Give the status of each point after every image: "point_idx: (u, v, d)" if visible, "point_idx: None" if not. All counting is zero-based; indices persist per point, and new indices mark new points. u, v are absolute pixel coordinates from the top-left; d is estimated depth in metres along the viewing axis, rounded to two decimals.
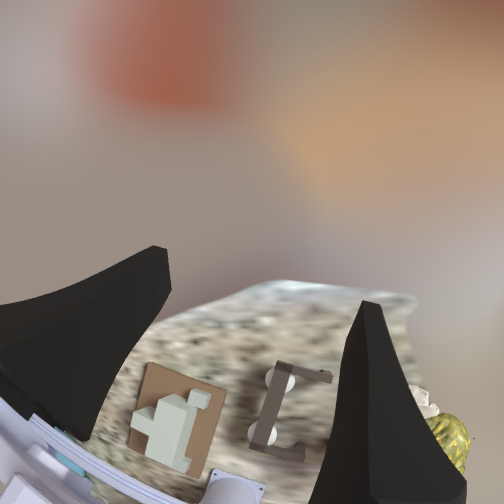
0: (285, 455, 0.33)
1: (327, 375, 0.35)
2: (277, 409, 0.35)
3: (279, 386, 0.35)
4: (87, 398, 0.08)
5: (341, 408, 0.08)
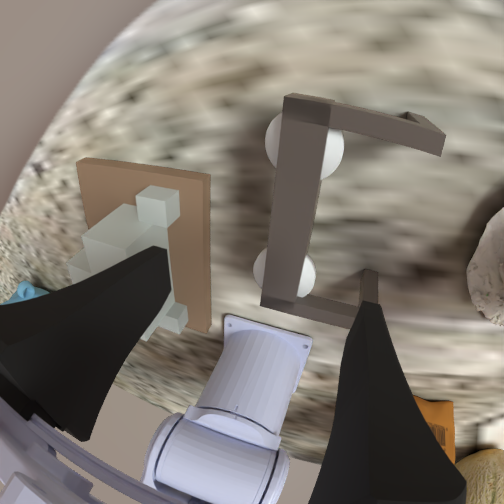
0: (336, 320, 0.18)
1: (430, 133, 0.11)
2: (307, 223, 0.15)
3: (303, 164, 0.13)
4: (87, 398, 0.08)
5: (341, 408, 0.08)
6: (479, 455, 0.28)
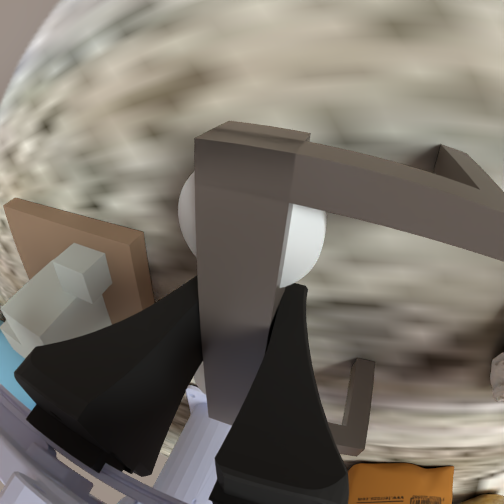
0: None
1: (503, 219, 0.05)
2: (258, 352, 0.09)
3: (243, 270, 0.07)
4: (155, 434, 0.08)
5: None
6: None
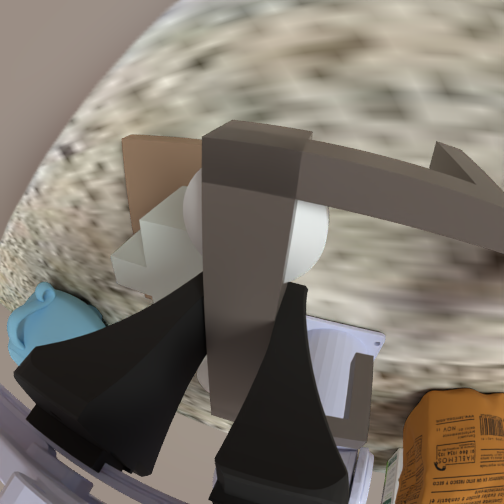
0: None
1: (500, 213, 0.05)
2: (263, 347, 0.09)
3: (249, 265, 0.07)
4: (154, 434, 0.08)
5: None
6: None
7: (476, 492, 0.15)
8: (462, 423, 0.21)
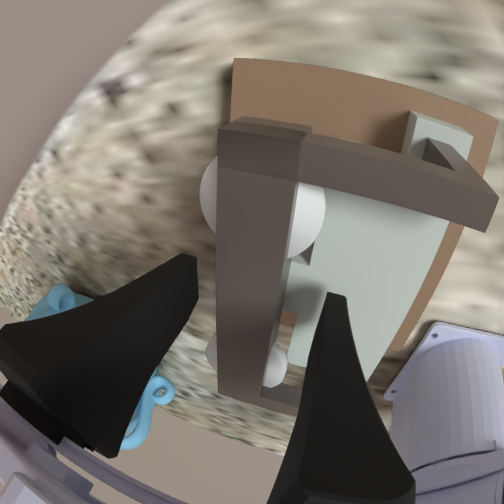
0: None
1: (475, 194, 0.06)
2: (267, 319, 0.10)
3: (256, 240, 0.09)
4: (117, 415, 0.08)
5: (303, 399, 0.09)
6: None
7: None
8: None
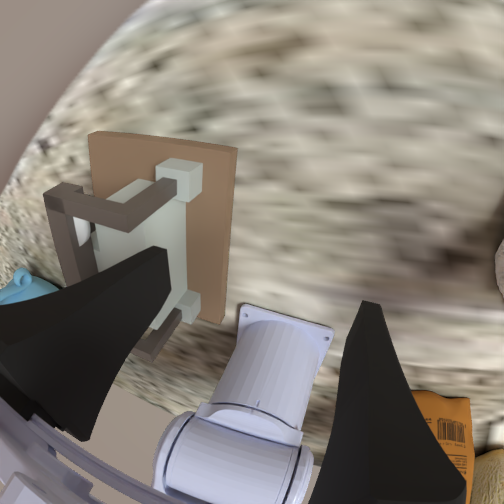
0: None
1: (116, 215, 0.15)
2: (78, 276, 0.19)
3: (62, 238, 0.17)
4: (87, 398, 0.08)
5: (341, 408, 0.08)
6: (489, 455, 0.26)
7: None
8: None
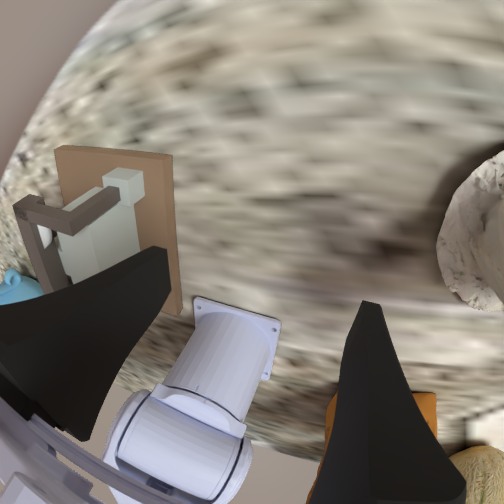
0: None
1: (62, 222, 0.16)
2: (45, 274, 0.21)
3: (30, 241, 0.19)
4: (87, 398, 0.08)
5: (341, 408, 0.08)
6: (468, 452, 0.28)
7: None
8: None
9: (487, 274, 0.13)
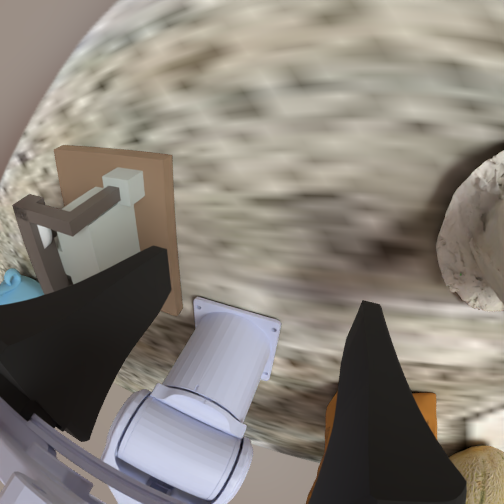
0: None
1: (62, 222, 0.16)
2: (45, 274, 0.21)
3: (30, 241, 0.19)
4: (87, 398, 0.08)
5: (341, 408, 0.08)
6: (468, 452, 0.28)
7: None
8: None
9: (487, 274, 0.13)
